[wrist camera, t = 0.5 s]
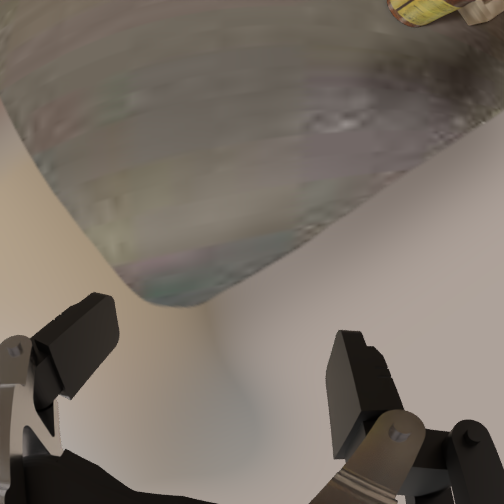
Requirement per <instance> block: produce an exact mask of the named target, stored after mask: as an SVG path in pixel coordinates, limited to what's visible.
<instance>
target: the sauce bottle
mask: <svg viewBox="0 0 504 504" xmlns="http://www.w3.org/2000/svg"><path fill="white" fill-rule="evenodd" d="M474 1H476V0H387V4H388V7H389V9H390V11H391V13H392V14H393V16H394V17H395V18H396V19H397V20H399V21H400V22H402V23H403V24H405V25H407V26H410V27H420V26H423V25H426V24H428V23H430V22H432V21H434V20H436V19H438V18H440V17H442V16H445V15H447V14H449V13H451V12H453V11H456V10H458V9H460V8H462V7H464V6H466V5H467V4H468V3H471V2H474Z"/></svg>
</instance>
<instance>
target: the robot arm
mask: <svg viewBox="0 0 504 504" xmlns="http://www.w3.org/2000/svg"><path fill="white" fill-rule="evenodd" d="M118 340H119V327H118V321H117V316H116V309H115V302H114V299H113V298H112V296H109V295H105V294H100V293H96V292H94V293H91V294H90V295H89V296H87V297H86V298H85V299H83V300H82V301H81V302H79V303H77V304H75V305H73V306H70V307H69V308H68V309H66V310H65V311H64V312H62V314H61V315H59V316H57V317H56V318H55V320H52V321H51V322H50V323H48V324H47V325H46V326H45V327H44V328H42V329H41V330H40V331H39V332H37V333H36V334H35V335H34V336H32V337H31V338H28V337H26V336H22V335H16V336H12V337H9V338H7V339H6V340H4V341H3V342H2V343H1V344H0V504H216V503H211V502H206V501H201V500H197V499H193V498H189V497H185V496H173V495H161V494H152V493H144V492H137V491H134V490H132V489H130V488H128V487H127V486H125V485H124V484H123V483H121V482H120V481H118V480H117V479H115V478H114V477H113V476H111V475H110V474H109V473H107V472H106V471H105V470H103V469H102V468H101V467H99V466H98V465H96V464H94V463H92V462H90V461H88V460H86V459H84V458H82V457H80V456H78V455H76V454H74V453H72V452H71V451H69V450H67V449H65V450H64V451H63V449H62V446H61V439H60V428H59V411H58V402H57V400H56V397H57V396H58V395H61V396H63V397H65V398H67V399H69V400H72V398H73V397H74V396H75V395H76V393H77V392H78V391H79V390H80V388H81V387H82V386H83V385H84V384H85V382H86V381H87V380H88V379H89V378H90V376H91V375H92V374H93V373H94V371H95V370H96V369H97V368H98V367H99V365H100V364H101V363H102V362H103V361H104V360H105V358H106V357H107V356H108V355H109V353H110V352H111V351H112V350H113V349H114V348H115V347H116V345H117V343H118ZM326 389H327V397H328V406H329V415H330V424H331V434H332V445H333V457H334V459H345V460H346V464H345V465H344V466H343V468H342V469H341V470H340V471H339V472H337V473H336V475H335V476H334V477H333V478H332V479H331V480H330V481H329V482H328V484H327V485H326V486H325V487H324V488H323V489H322V490H321V491H320V492H319V493H318V495H317V496H316V497H315V498H314V499H313V500H312V501H311V502H310V503H309V504H397V502H398V501H397V500H395V497H396V495H405V499H406V504H454V500H455V504H504V469H503V466H502V463H501V461H500V458H499V455H498V453H497V450H496V448H495V446H494V443H493V441H492V439H491V436H490V434H489V432H488V430H487V429H486V428H485V427H484V426H483V425H482V424H481V423H479V422H477V421H474V420H462V421H460V422H458V423H457V424H456V425H455V426H454V428H453V429H452V430H451V432H445V431H438V430H430V429H425V427H424V424H423V422H422V421H421V420H420V419H419V418H418V417H417V416H416V415H414V414H413V413H411V412H408V411H405V410H404V408H403V405H402V402H401V400H400V397H399V394H398V392H397V389H396V387H395V384H394V382H393V379H392V378H391V374H390V371H389V369H387V364H386V362H385V359H384V357H383V355H382V354H381V353H380V352H379V351H378V350H376V348H375V347H374V346H367V345H366V343H365V340H364V338H363V335H362V333H361V332H360V331H347V330H339V331H338V332H337V334H336V338H335V341H334V345H333V348H332V352H331V356H330V359H329V362H328V365H327V370H326ZM451 486H452V491H453V495H454V500H453V496H452V491H451Z"/></svg>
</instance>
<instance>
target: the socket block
mask: <svg viewBox="0 0 504 504" xmlns="http://www.w3.org/2000/svg"><path fill="white" fill-rule="evenodd" d="M458 11H459V13H460V14H461V15H462V17H463V18H464V20H465V21H466V23H467V24H468V25H469V26H470V25H474V24H478V23H483V22H487V21H489V20H491V19H492V18H494V17H495V16H497V15H498V14H500V13H501V12H503V11H504V0H476V1H474V2H471V3H468V4H467V5H466V6H464V7H462V8H460V9H458Z"/></svg>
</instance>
